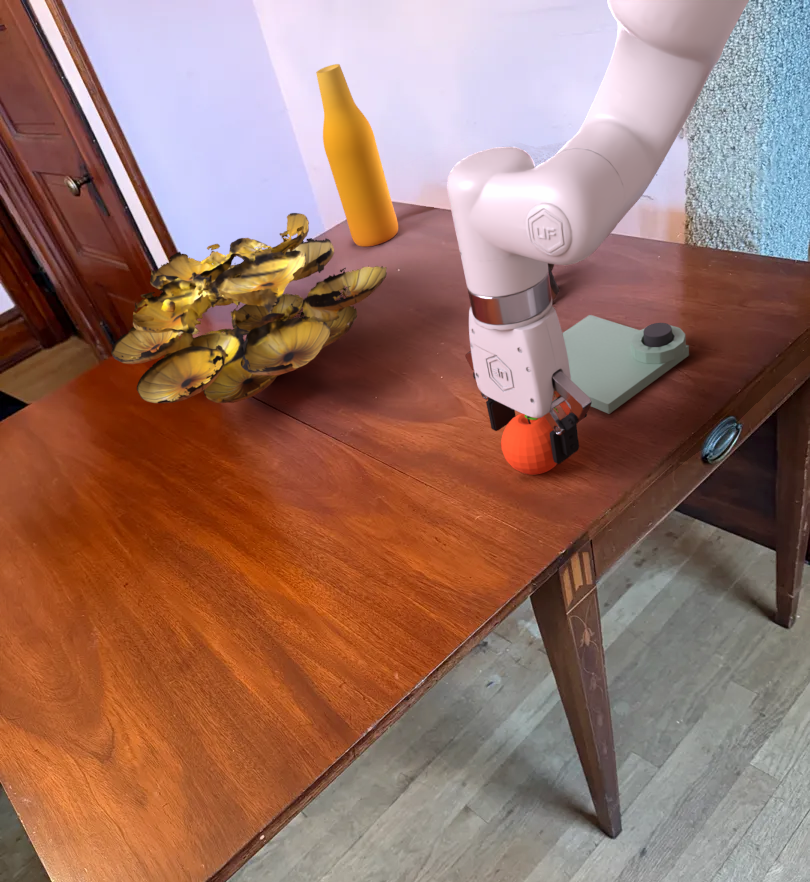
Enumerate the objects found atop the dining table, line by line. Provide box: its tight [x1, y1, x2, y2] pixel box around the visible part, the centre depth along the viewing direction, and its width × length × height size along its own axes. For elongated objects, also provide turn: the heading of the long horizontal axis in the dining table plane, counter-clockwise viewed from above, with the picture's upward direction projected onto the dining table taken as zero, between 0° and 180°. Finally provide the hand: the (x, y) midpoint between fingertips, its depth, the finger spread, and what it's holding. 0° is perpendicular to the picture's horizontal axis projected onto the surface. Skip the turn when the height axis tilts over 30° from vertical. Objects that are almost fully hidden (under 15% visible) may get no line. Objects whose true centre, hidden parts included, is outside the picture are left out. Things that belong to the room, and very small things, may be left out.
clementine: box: [500, 407, 559, 476], centre depth 81 cm, size 8×7×7 cm
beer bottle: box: [315, 63, 399, 248], centre depth 135 cm, size 9×9×29 cm
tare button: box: [643, 322, 672, 347], centre depth 89 cm, size 3×3×2 cm
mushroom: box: [110, 212, 388, 404], centre depth 111 cm, size 41×45×17 cm
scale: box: [562, 314, 690, 415], centre depth 93 cm, size 16×15×3 cm
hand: (534, 439), depth 81 cm, fingers open, 9 cm apart
